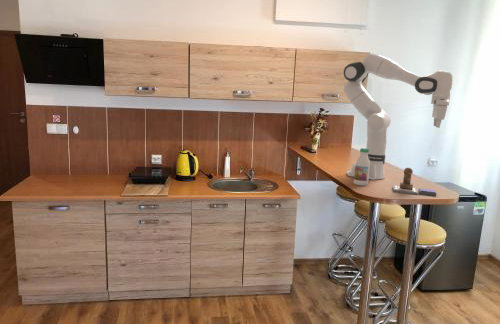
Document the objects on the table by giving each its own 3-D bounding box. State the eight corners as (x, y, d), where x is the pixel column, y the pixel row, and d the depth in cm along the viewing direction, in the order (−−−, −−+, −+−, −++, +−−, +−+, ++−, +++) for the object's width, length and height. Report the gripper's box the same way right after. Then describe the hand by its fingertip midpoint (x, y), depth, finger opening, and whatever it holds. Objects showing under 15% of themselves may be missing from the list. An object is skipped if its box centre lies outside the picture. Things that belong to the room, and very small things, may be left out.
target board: (393, 191, 208) (393, 189, 207) (392, 187, 217) (392, 184, 217) (417, 194, 204) (418, 192, 204) (415, 190, 214) (416, 187, 213)
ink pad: (419, 194, 206) (419, 190, 205) (418, 191, 211) (418, 187, 211) (436, 196, 203) (436, 192, 203) (434, 193, 209) (435, 189, 209)
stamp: (400, 188, 209) (402, 167, 207) (399, 186, 213) (402, 166, 211) (412, 190, 207) (415, 169, 205) (411, 188, 212) (414, 167, 209)
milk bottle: (357, 181, 225) (361, 147, 221) (370, 184, 220) (374, 149, 217) (351, 183, 220) (354, 148, 216) (364, 186, 215) (368, 150, 211)
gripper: (431, 100, 224) (428, 124, 227) (436, 101, 205) (432, 127, 207) (443, 101, 222) (440, 125, 225) (449, 102, 203) (445, 128, 206)
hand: (436, 126), depth 216 cm, fingers open, 8 cm apart
